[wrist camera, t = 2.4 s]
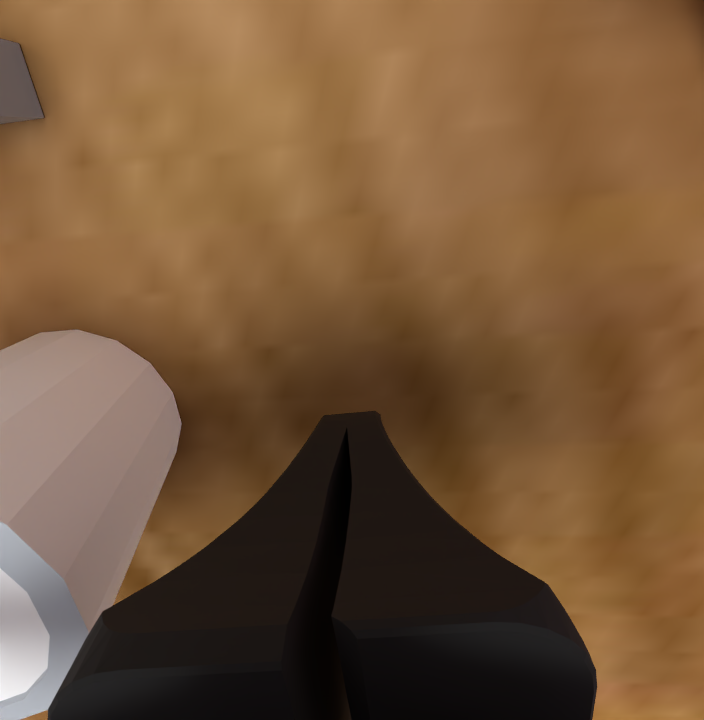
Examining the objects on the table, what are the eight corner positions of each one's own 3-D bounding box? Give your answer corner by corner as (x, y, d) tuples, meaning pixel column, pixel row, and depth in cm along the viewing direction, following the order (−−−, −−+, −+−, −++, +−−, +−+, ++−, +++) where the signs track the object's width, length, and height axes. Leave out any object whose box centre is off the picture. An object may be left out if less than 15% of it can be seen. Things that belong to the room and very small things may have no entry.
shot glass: (-45, 450, 16) (-322, 666, 9) (-2, 264, 13) (-346, 388, 7) (159, 530, 17) (37, 769, 11) (236, 375, 14) (135, 569, 8)
